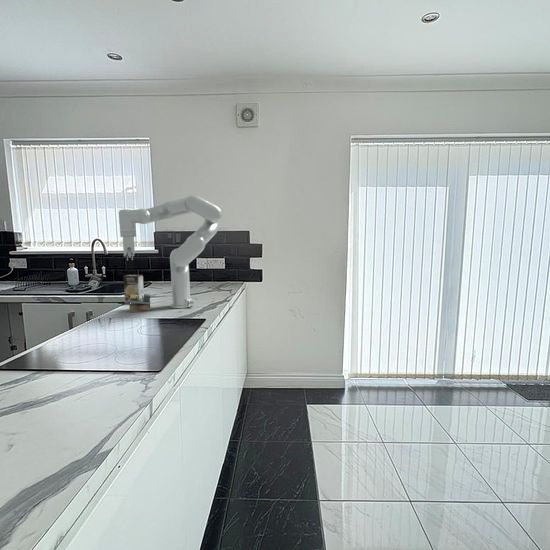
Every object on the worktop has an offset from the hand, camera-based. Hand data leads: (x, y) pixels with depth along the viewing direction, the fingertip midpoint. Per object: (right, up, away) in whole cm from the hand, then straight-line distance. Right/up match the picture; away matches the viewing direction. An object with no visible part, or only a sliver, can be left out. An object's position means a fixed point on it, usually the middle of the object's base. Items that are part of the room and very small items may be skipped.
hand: (130, 267), depth 179 cm
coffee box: (-6, -20, +21) cm, 30 cm away
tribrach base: (+4, -22, +3) cm, 23 cm away
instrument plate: (+4, -18, +2) cm, 19 cm away
